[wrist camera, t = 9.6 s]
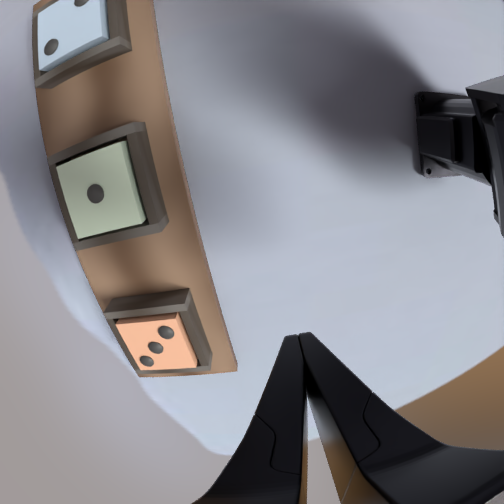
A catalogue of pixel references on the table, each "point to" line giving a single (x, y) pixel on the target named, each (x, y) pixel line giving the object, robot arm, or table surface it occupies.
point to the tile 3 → (158, 341)
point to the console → (149, 180)
